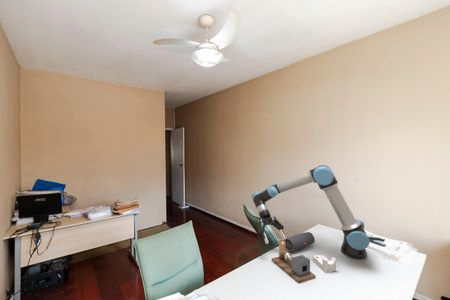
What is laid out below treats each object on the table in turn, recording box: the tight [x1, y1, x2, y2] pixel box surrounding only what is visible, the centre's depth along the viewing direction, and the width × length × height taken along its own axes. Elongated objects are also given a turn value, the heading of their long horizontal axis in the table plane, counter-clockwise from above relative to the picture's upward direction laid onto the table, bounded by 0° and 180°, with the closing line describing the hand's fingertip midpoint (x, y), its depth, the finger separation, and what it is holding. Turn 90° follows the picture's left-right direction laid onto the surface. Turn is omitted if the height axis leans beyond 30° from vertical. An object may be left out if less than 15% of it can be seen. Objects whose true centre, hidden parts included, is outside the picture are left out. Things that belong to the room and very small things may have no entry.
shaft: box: [278, 239, 293, 261], centre depth 126 cm, size 17×5×10 cm, turn 23°
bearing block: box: [291, 254, 311, 277], centre depth 118 cm, size 6×8×8 cm
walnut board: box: [271, 256, 316, 284], centre depth 124 cm, size 24×12×2 cm, turn 23°
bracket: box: [311, 254, 337, 274], centre depth 127 cm, size 13×7×8 cm, turn 9°
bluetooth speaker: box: [284, 231, 316, 252], centre depth 149 cm, size 23×9×10 cm, turn 120°
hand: (276, 241), depth 137 cm, fingers open, 13 cm apart
